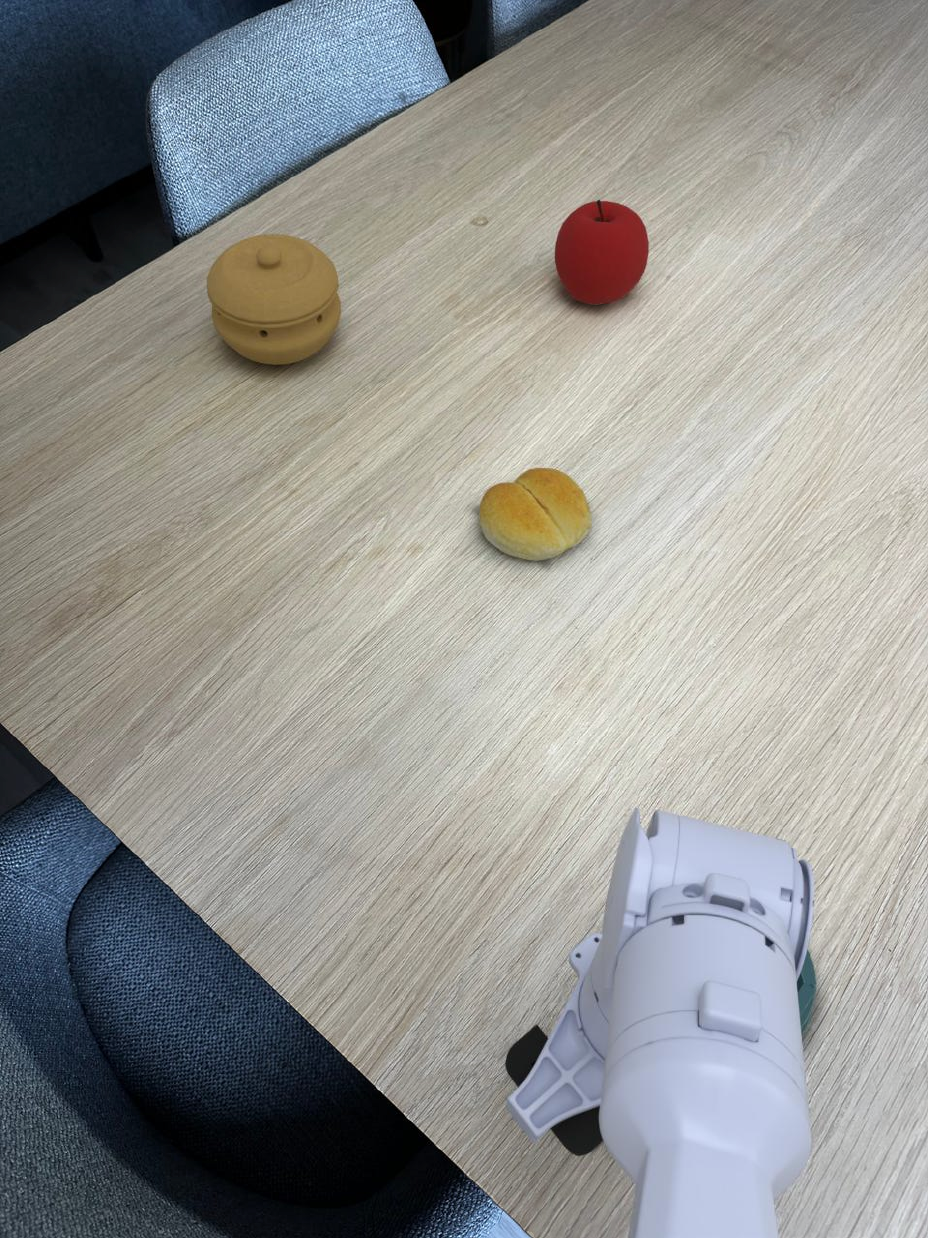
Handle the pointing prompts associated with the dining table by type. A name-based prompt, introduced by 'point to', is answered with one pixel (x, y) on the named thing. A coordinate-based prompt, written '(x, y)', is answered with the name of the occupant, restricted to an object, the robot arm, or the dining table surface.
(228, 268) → the pot
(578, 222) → the apple
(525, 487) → the bread roll
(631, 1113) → the robot arm
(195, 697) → the dining table surface
